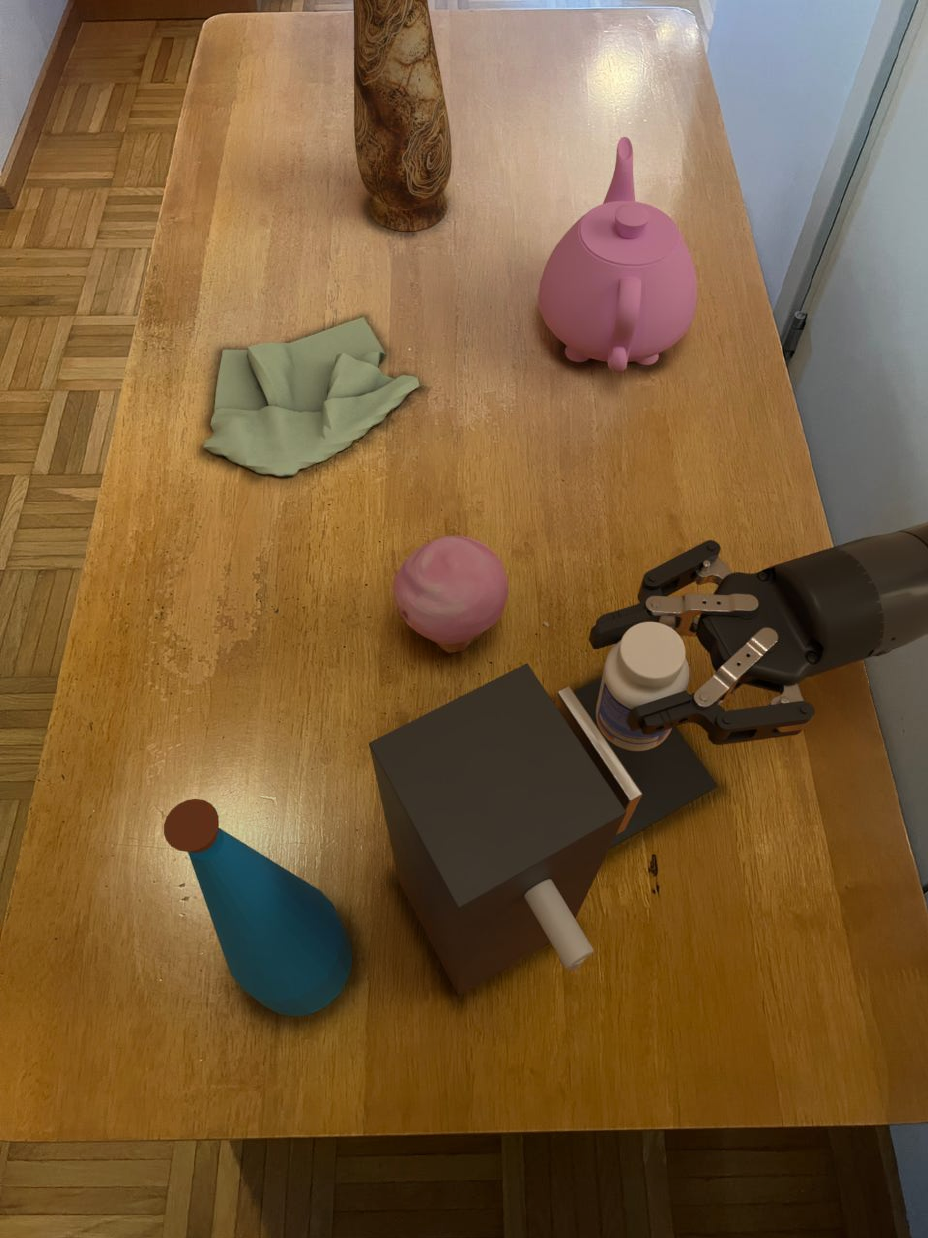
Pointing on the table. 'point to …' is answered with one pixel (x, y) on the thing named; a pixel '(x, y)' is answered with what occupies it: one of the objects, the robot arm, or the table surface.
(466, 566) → the cupcake
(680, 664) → the pill bottle
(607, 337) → the teapot
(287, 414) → the cloth
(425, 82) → the vase
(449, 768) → the soap dispenser
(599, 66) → the table surface
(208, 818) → the bottle
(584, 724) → the plate
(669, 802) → the mat
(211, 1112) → the table surface
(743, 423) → the table surface
